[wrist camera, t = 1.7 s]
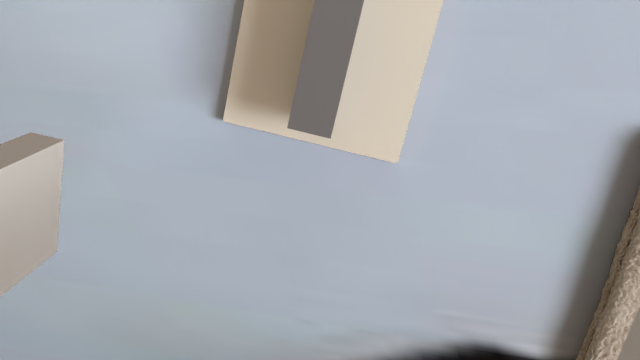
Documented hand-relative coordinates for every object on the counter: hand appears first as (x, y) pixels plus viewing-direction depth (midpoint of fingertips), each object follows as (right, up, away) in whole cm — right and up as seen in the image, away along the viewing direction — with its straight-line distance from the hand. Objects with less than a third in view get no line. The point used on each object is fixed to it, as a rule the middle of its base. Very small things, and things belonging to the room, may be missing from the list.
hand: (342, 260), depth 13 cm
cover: (0, +10, +22) cm, 24 cm away
